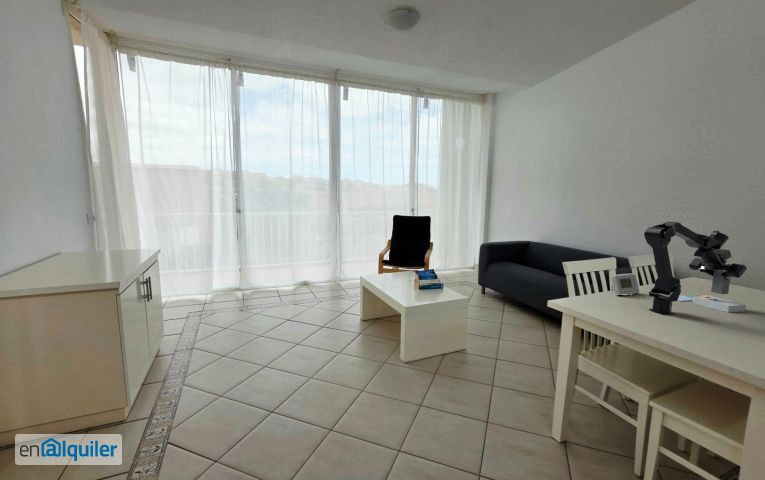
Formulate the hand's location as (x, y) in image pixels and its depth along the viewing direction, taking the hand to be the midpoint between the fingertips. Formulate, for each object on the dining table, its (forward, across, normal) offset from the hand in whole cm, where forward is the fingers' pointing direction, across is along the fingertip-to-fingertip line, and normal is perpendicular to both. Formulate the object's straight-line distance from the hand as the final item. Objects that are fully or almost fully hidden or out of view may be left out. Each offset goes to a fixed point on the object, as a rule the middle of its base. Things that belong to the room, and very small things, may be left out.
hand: (723, 278), depth 150 cm
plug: (+4, 0, +6) cm, 7 cm away
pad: (+6, +14, +13) cm, 20 cm away
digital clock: (-8, +26, +27) cm, 39 cm away
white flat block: (+8, 0, +10) cm, 13 cm away
